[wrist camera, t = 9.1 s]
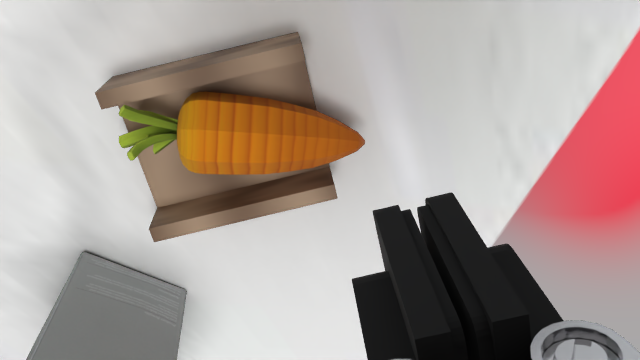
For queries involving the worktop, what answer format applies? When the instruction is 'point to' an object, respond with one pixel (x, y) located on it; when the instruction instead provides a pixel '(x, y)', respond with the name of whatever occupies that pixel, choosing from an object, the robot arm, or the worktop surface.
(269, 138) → the carrot
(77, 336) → the skincare box
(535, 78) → the worktop surface
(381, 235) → the robot arm
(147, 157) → the walnut U-rest
